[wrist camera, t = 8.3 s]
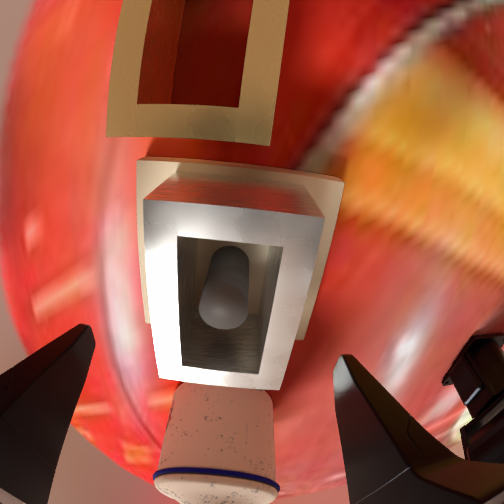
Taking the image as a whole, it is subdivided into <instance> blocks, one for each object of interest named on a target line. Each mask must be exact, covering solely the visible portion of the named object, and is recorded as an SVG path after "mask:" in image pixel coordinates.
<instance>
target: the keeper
mask: <svg viewBox="0 0 504 504" xmlns="http://www.w3.org/2000/svg"><path fill="white" fill-rule="evenodd" d="M176 171H178V172H193V173H206V174H218V175H228V176H238V177H248V178H257V179H266V180H274V181H282V182H289V183H296V184H303V185H304V186H305V187H306V189H307V190H308V192H309V193H310V195H311V196H312V198H313V199H314V201H315V203H316V204H317V206H318V207H319V209H320V210H321V212H322V214H323V215H324V217H325V221H324V226H323V231H322V235H321V239H320V244H319V248H318V252H317V257H316V261H315V265H314V269H313V273H312V277H311V281H310V285H309V289H308V293H307V297H306V301H305V305H304V308H303V312H302V316H301V319H300V323H299V327H298V330H297V334H296V337H295V340H304V337H305V334H306V330H307V327H308V324H309V321H310V317H311V314H312V311H313V307H314V304H315V300H316V297H317V293H318V290H319V286H320V283H321V279H322V276H323V272H324V268H325V264H326V261H327V257H328V253H329V249H330V245H331V241H332V237H333V233H334V229H335V225H336V220H337V216H338V212H339V207H340V203H341V198H342V194H343V189H344V184H345V183H344V182H343V181H342V180H341V179H340V178H338V177H334V176H328V175H323V174H317V173H311V172H304V171H298V170H291V169H284V168H277V167H269V166H261V165H253V164H244V163H235V162H225V161H214V160H202V159H188V158H172V157H151V156H145V157H143V158H141V159H138V160H137V183H136V187H137V230H138V249H139V264H140V276H141V287H142V296H143V305H144V314H145V322H146V323H149V324H151V316H150V307H149V298H148V287H147V276H146V262H145V246H144V223H143V199H144V198H145V197H146V196H147V195H148V194H150V193H151V192H152V191H153V190H154V189H155V188H157V187H158V186H159V185H160V184H161V183H163V182H164V181H165V180H166V179H167V178H169V177H170V176H171V175H172V174H173V173H175V172H176ZM268 248H269V245H261V244H251V243H242V242H232V241H223V240H213V239H203V238H198V239H197V273H196V308H198V309H199V313H200V316H201V318H202V319H203V320H204V321H205V322H206V323H207V324H208V325H210V326H212V327H214V328H217V329H233V328H236V327H238V326H240V325H241V324H242V323H243V322H244V321H245V320H246V318H247V315H248V314H254V315H258V311H259V304H260V298H261V292H262V286H263V280H264V273H265V267H266V261H267V254H268Z"/></svg>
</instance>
